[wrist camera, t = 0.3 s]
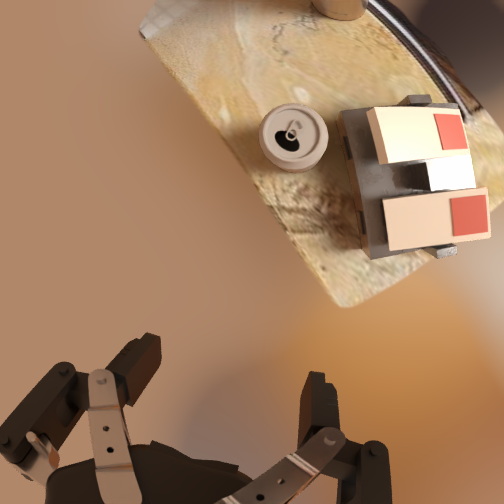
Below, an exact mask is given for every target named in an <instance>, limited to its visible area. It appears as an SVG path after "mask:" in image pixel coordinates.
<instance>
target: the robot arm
mask: <svg viewBox="0 0 504 504" xmlns="http://www.w3.org/2000/svg"><path fill="white" fill-rule="evenodd" d="M312 3H313V5H314V7H315V8H316V9H317V10H318V11H319V12H321V13H322V14H324V15H326V16H328V17H330V18H333V19H338V20H354V19H357V18H359V17H361V16H362V15H363V14H364V12H365V10H366V7H367V4H368V0H312ZM161 359H162V355H161V339H160V336H157V335H154V334H151V333H145V334H144V335H143V337H142V338H141V339H137V338H136V339H134V340H132V341H130V342H128V343H127V345H126V346H125V347H124V348H123V349H122V350H121V351H120V353H119V354H117V356H116V357H115V358H114V359H113V360H112V361H111V362H110V363H109V365H108V366H107V367H106V368H105V369H97V370H94V371H93V372H91V373H90V374H88V373H82V372H77V371H76V369H75V367H74V365H73V364H71V363H69V362H60V363H58V364H56V365H54V366H53V368H52V369H51V370H50V371H49V372H48V373H47V374H46V375H45V376H44V377H43V378H42V379H41V380H40V381H39V383H38V384H37V385H36V386H35V387H34V388H33V389H32V390H31V391H30V393H29V394H28V395H27V396H26V397H25V398H24V399H23V400H22V402H21V403H20V404H19V405H18V406H17V407H16V409H15V410H14V411H13V412H12V413H11V414H10V416H9V417H8V418H7V419H6V420H5V422H4V423H3V424H2V425H1V426H0V453H1V454H2V455H3V456H4V458H5V459H6V460H7V461H8V462H9V463H10V464H11V465H12V466H13V467H14V468H15V469H16V470H17V471H18V472H20V473H21V474H22V475H23V476H24V477H25V478H26V479H28V480H30V481H35V482H37V483H38V484H39V485H41V486H42V487H43V488H45V489H46V499H45V504H289V503H290V502H291V501H292V500H293V499H294V498H296V496H298V495H299V494H300V493H301V492H302V491H303V490H304V489H305V488H306V487H308V485H310V484H311V483H312V482H313V481H314V480H315V479H316V478H317V477H318V476H319V475H320V474H324V475H328V476H330V477H333V478H337V479H338V488H337V502H336V504H392V489H391V476H390V464H389V454H388V449H387V448H386V446H385V445H384V444H383V443H381V442H379V441H368V442H366V443H365V444H364V445H363V444H359V443H356V442H353V441H350V440H348V439H347V438H346V437H345V435H344V433H343V432H342V431H341V430H340V422H339V410H338V400H337V391H336V389H335V387H334V386H333V384H332V383H325V374H324V373H321V372H314V371H310V372H309V375H308V377H307V380H306V383H305V385H304V388H303V390H302V394H301V398H300V415H299V430H298V445H297V451H296V452H295V453H293V454H289V455H287V456H286V457H284V458H283V459H282V460H281V461H279V462H278V463H277V464H275V465H274V466H273V467H271V468H270V469H269V470H267V471H266V472H265V473H263V474H262V475H261V476H259V477H258V478H256V479H255V480H252V479H251V478H250V477H248V476H247V475H245V474H243V473H242V472H240V471H238V467H239V466H238V465H233V464H229V463H224V462H220V461H214V460H198V459H192V458H190V457H188V456H186V455H184V454H182V453H181V452H179V451H177V450H176V449H174V448H172V447H169V446H166V445H164V444H161V443H158V442H155V441H153V440H152V441H151V443H150V445H145V444H137V445H132V444H131V440H130V437H129V433H128V429H127V425H126V421H125V416H124V412H123V407H124V406H125V404H127V405H129V406H132V407H133V405H134V404H135V402H136V401H137V399H138V398H139V396H140V395H141V393H142V392H143V390H144V389H145V387H146V386H147V384H148V383H149V381H150V380H151V378H152V377H153V375H154V374H155V373H156V371H157V369H158V368H159V366H160V364H161ZM85 410H86V411H88V417H89V426H90V434H91V440H92V447H93V453H94V458H92V459H89V460H85V461H82V462H79V463H75V464H71V465H68V466H64V467H61V468H58V466H59V460H60V457H59V454H58V450H59V448H60V447H61V445H62V444H63V443H64V441H65V440H66V438H67V437H68V435H69V434H70V432H71V431H72V429H73V428H74V426H75V425H76V423H77V422H78V420H79V419H80V417H81V416H82V414H83V413H84V412H85ZM57 468H58V469H57Z"/></svg>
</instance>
